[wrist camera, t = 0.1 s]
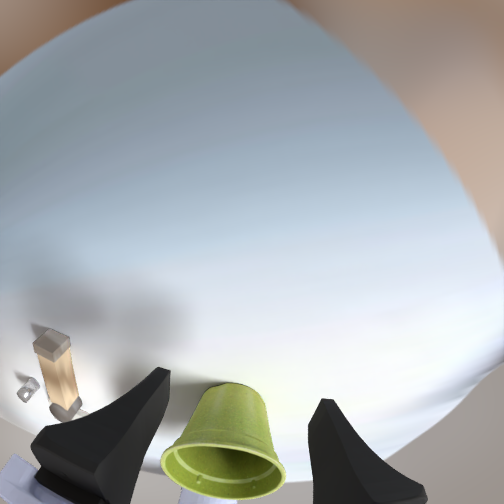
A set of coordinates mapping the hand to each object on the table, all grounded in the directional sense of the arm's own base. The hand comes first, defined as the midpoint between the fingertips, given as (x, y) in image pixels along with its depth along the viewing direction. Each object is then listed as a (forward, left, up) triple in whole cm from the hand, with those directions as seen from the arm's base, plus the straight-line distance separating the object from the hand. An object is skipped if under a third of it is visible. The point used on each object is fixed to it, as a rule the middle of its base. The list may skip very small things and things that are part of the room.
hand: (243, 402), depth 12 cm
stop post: (-20, +26, -10) cm, 34 cm away
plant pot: (-11, 0, -10) cm, 15 cm away
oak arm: (-14, +19, -10) cm, 26 cm away
